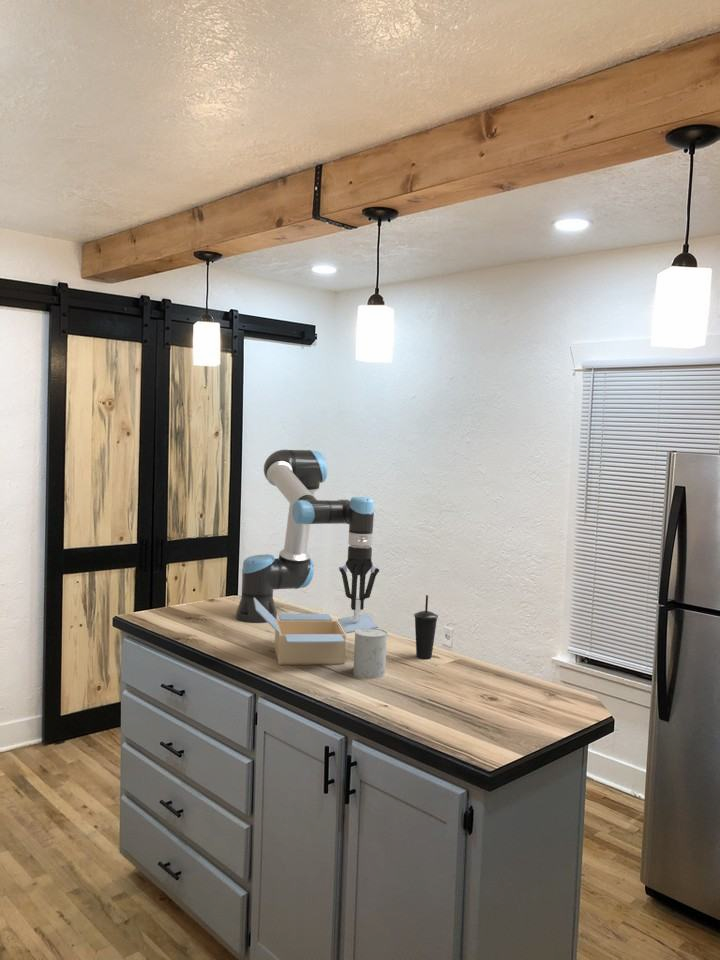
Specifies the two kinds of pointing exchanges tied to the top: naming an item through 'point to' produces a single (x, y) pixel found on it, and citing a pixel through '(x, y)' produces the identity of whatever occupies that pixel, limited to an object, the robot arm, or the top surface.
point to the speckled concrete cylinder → (370, 653)
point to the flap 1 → (266, 615)
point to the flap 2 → (357, 623)
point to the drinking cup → (425, 632)
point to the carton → (309, 640)
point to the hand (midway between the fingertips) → (356, 619)
